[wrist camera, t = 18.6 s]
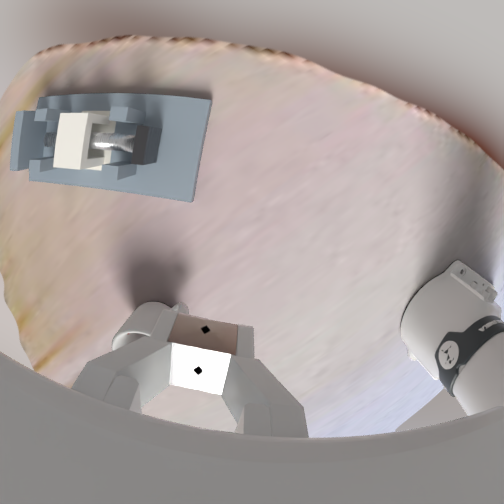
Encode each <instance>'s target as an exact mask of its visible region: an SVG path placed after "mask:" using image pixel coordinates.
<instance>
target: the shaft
mask: <svg viewBox="0 0 504 504" xmlns="http://www.w3.org/2000/svg"><path fill="white" fill-rule="evenodd" d="M161 133H162V129H161V128H156V127H151V126H143V125H137V129H136V135H132V134H119V133H101V132H91V135H90V141H89V148H88V149H98V150H111V151H122V152H133V153H132V160H131V164H136V165H147V164H152V163H156V162H157V156H158V149H159V144H160V138H161ZM56 137H57V132H47V133H46V134H45V136H44V145H45V147H55V145H56Z"/></svg>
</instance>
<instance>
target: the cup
mask: <svg viewBox="0 0 504 504" xmlns="http://www.w3.org/2000/svg"><path fill="white" fill-rule="evenodd" d="M164 309H167V310H172V311H176V312H180V313H184V314H189V309H188V307H187V306H186V305H185V304H184V303H182V302H180V303H177V304H176V305H175V306H174V307H172V308H170V307H169V306H167V305H165V304H163V303H160V302H147V303H144V304H142V305H140V306H139V307H138V308H137V309H136V310H135V311H134V312H133V313H132V315H131V316H130V317H129V318H128V319H127V321H126V322H125V323H124V324H123V326H122V327H121V328H120V329H119V331H118V332H117V333H116V334H115V336H114V338H113V340H112V351H114V350H116V349H118V348H120V347H123V346H125V345H127V344H129V343H131V342H134V341H136V340H138V339H140V338H142V337H144V336H147V337H150V335H151V333H152V331H153V329H154V327H155V325H156V323H157V321H158V319H159V316H160V314H161V312H162V311H163V310H164Z"/></svg>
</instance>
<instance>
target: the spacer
mask: <svg viewBox="0 0 504 504" xmlns="http://www.w3.org/2000/svg"><path fill="white" fill-rule="evenodd" d="M110 122H111V120H109V116H105V115H99V114H93V113H60V118H59V124H58V130H57V137H56V145H55V153H54V163H53V167H57V168H67V169H77V170H81V169H86V168H91V167H96V166H101V165H103V164H104V159H105V157H98V156H88V148H89V141H90V135H91V129H92V124H109V125H110Z"/></svg>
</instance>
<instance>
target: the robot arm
mask: <svg viewBox="0 0 504 504" xmlns="http://www.w3.org/2000/svg"><path fill="white" fill-rule="evenodd" d="M496 296H497V292H496V291H495V290H494V286H493V285H492V284H491V283H490V282H488V281H487V280H486V279H484V278H483V277H482V276H480V275H479V274H478V273H476V272H475V271H474V270H472V269H471V268H469V267H468V266H467V265H465V264H464V263H462V262H461V261H459V260H457V261H455V262H454V263H452V264H451V265H450V267H449V268H448V269H447V270H446V271H445V272H444V273H442V274H441V275H439V276H437V277H435V278H434V279H432V280H431V281H429V282H428V283H427V284H426V285H424V286H423V287H422V288H421V289H420V290H419V291H418V293H417V294H416V295H415V296H414V298H413V299H412V300H411V302H410V304H409V305H408V307H407V309H406V311H405V313H404V316H403V319H402V322H401V329H400V332H401V338H402V340H403V342H404V343H405V345H406V346H407V348H408V357H409V358H410V359H411V360H412V361H415V360H418V361H419V363H420V364H421V365H422V366H423V367H424V368H425V370H426V371H427V372H428V373H429V374H430V375H431V377H432V378H433V379H435V380H437V379H438V380H440V381H441V382H442V384H443V386H444V388H445V389H446V391H447V392H449V394H450V395H451V396H453V397H456V398H457V400H458V402H459V403H460V404H461V406H462V408H463V409H464V411H465V412H466V414H467V415H468V416H467V417H463V418H460V419H456V420H453V421H448V422H445V423H440V424H436V425H431V426H426V427H421V428H416V429H411V430H405V431H399V432H391V433H384V434H375V435H365V436H352V437H332V438H309V436H308V431H307V425H306V419H305V413H304V408H303V406H302V405H301V404H300V403H299V402H298V401H297V400H296V399H295V398H294V397H293V396H292V395H291V394H290V392H289V391H288V390H287V389H286V388H285V387H284V386H283V385H282V384H281V383H280V382H279V381H278V380H277V379H276V378H275V376H274V375H273V374H272V373H271V372H270V371H269V370H268V369H267V368H266V367H265V366H264V364H263V363H262V362H261V361H260V360H259V359H254V328H253V326H246V325H239V324H238V325H237V324H231V323H225V322H219V321H214V320H209V319H206V318H201V317H197V316H193V315H188V314H184V313H180V312H176V311H172V310H167V309H164V310H163V311H162V312H161V314H160V316H159V319H158V321H157V323H156V325H155V327H154V329H153V331H152V333H151V335H150V337H147V336H144V337H142V338H140V339H138V340H136V341H134V342H131V343H129V344H127V345H125V346H123V347H120V348H118V349H116V350H114V351H111V352H109V353H107V354H105V355H102V356H100V357H98V358H96V359H93V360H91V361H89V362H87V364H86V365H85V367H84V368H83V370H82V372H81V373H80V375H79V376H78V378H77V380H76V381H75V383H74V385H73V386H72V388H68V387H66V386H64V385H62V384H60V383H57V382H55V381H53V380H51V379H49V378H47V377H45V376H43V375H41V374H39V373H37V372H35V371H33V370H31V369H29V368H28V367H26V366H24V365H22V364H20V363H19V362H17V361H15V360H13V359H12V358H10V357H8V356H7V355H5V354H3V353H2V352H0V504H504V322H503V321H502V320H501V307H500V306H499V305H498V304H497V303H496V302H494V301H493V300H495V298H496ZM170 384H172V385H177V386H182V387H187V388H192V389H197V390H202V391H206V392H211V393H216V394H221V396H222V398H223V400H224V401H225V403H226V405H227V407H228V408H229V410H230V412H231V414H232V415H233V417H234V419H235V420H236V422H237V424H238V425H237V427H236V430H235V433H232V432H224V431H218V430H211V429H206V428H200V427H195V426H190V425H185V424H180V423H176V422H171V421H167V420H163V419H159V418H155V417H151V416H148V415H144V414H142V410H141V407H143V406H144V405H145V404H146V403H148V402H149V401H150V400H152V399H153V398H154V397H155V396H157V395H158V394H159V393H161V392H162V391H163V390H164V389H166V388H167V387H168V386H169V385H170Z"/></svg>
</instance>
